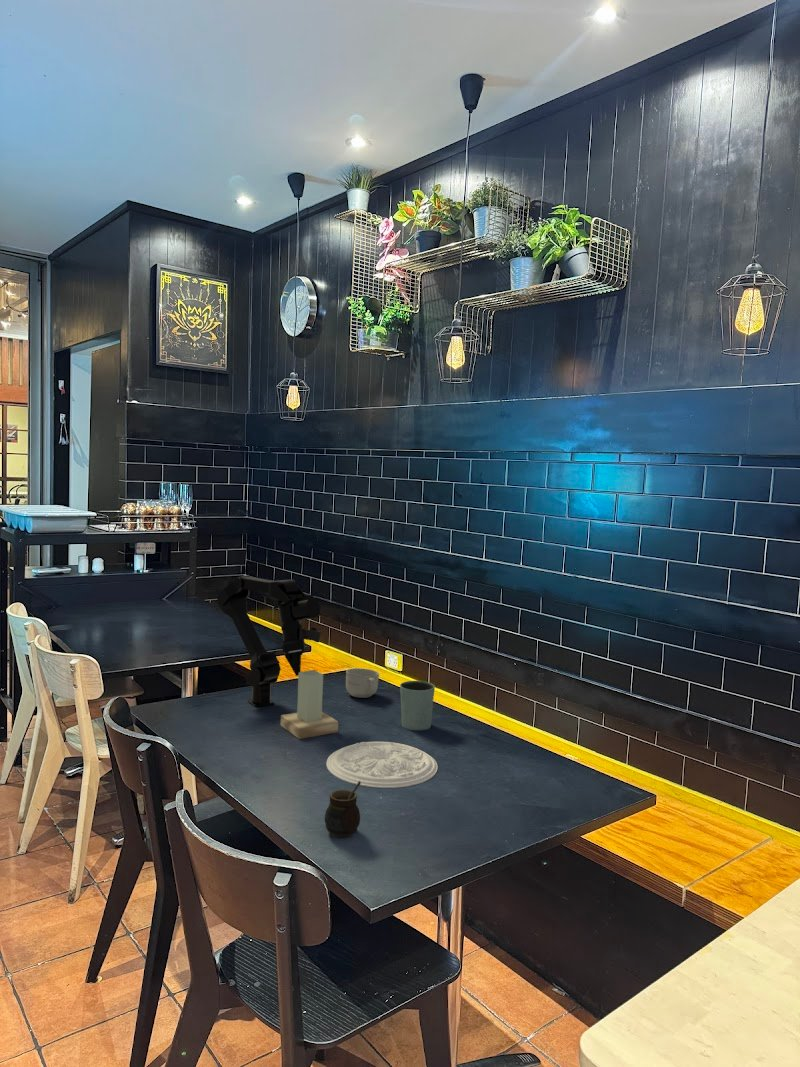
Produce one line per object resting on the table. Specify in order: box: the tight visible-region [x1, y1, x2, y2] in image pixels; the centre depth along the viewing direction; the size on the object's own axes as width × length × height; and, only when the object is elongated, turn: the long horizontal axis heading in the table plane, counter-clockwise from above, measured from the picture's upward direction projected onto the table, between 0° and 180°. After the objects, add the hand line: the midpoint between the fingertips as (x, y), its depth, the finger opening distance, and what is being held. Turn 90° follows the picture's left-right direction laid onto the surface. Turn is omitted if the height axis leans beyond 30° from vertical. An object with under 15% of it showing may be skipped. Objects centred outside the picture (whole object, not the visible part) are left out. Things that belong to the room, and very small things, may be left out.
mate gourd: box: [324, 781, 361, 838], centre depth 155 cm, size 7×8×10 cm
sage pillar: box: [296, 669, 324, 722], centre depth 213 cm, size 5×5×13 cm
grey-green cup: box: [399, 680, 436, 732], centre depth 221 cm, size 10×10×12 cm
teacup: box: [345, 667, 380, 699], centre depth 246 cm, size 14×11×8 cm
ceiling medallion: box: [326, 741, 439, 789], centre depth 191 cm, size 28×28×3 cm
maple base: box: [280, 711, 339, 740], centre depth 214 cm, size 12×12×3 cm
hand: (298, 674), depth 224 cm, fingers open, 9 cm apart
